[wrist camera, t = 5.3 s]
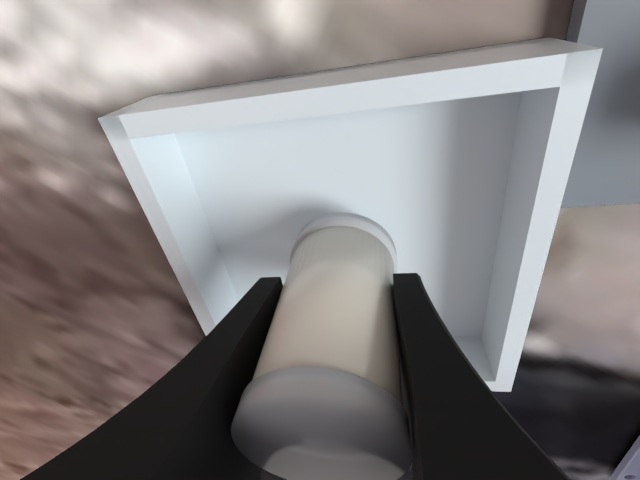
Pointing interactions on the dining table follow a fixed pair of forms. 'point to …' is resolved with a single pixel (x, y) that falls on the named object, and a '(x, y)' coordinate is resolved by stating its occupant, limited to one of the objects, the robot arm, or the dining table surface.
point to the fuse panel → (608, 106)
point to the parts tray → (372, 177)
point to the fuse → (330, 362)
